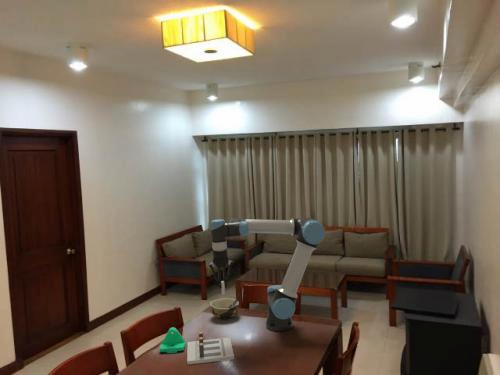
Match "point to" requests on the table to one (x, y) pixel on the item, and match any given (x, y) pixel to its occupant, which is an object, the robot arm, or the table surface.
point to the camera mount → (172, 342)
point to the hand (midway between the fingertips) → (223, 294)
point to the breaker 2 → (201, 349)
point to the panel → (210, 351)
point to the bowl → (224, 307)
